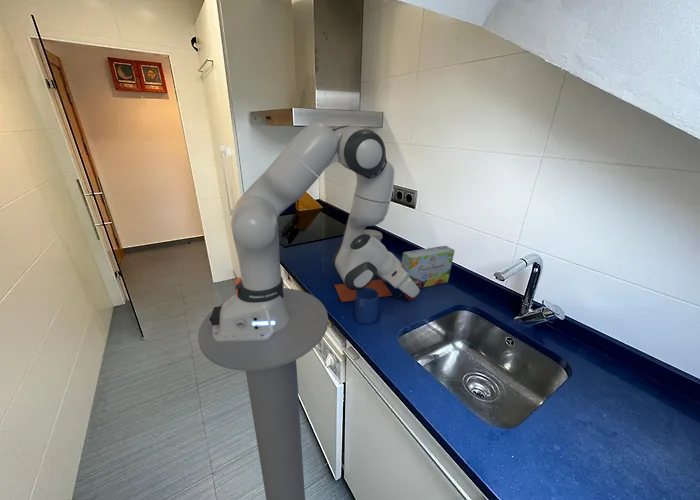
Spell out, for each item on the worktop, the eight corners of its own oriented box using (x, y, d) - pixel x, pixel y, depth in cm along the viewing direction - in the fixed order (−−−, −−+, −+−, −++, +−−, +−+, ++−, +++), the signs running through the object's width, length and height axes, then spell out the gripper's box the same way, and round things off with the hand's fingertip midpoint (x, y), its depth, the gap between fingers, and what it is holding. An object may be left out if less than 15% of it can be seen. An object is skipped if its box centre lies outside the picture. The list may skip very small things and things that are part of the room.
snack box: (406, 292, 110) (410, 257, 104) (398, 285, 115) (402, 251, 109) (448, 282, 118) (455, 249, 112) (439, 276, 123) (445, 244, 117)
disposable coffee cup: (363, 254, 141) (365, 226, 135) (384, 259, 137) (386, 230, 131) (354, 263, 133) (355, 232, 126) (375, 268, 128) (377, 237, 122)
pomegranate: (401, 309, 104) (426, 296, 101) (390, 293, 103) (415, 280, 100) (401, 300, 111) (424, 287, 108) (391, 285, 110) (413, 272, 107)
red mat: (341, 302, 103) (341, 301, 103) (334, 285, 113) (334, 284, 113) (392, 295, 108) (392, 294, 108) (381, 280, 119) (381, 279, 118)
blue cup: (358, 325, 91) (359, 301, 88) (352, 311, 98) (353, 289, 94) (380, 321, 93) (382, 298, 90) (372, 308, 100) (374, 286, 96)
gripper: (369, 261, 107) (390, 280, 114) (395, 289, 89) (418, 309, 96) (381, 249, 107) (401, 268, 114) (409, 274, 89) (431, 295, 96)
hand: (409, 287), depth 105 cm, fingers closed on pomegranate, 7 cm apart
